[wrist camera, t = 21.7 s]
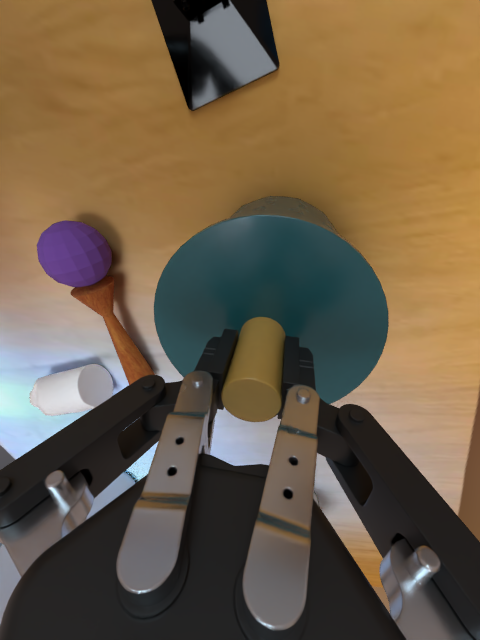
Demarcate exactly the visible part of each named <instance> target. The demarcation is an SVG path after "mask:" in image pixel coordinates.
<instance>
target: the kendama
mask: <svg viewBox="0 0 480 640" xmlns="http://www.w3.org/2000/svg"><path fill="white" fill-rule="evenodd" d="M37 251H38V259H39V262H40V264H41V265H42V267H43V269H44V270H45V272H46V274H48V275H49V276H50V277H52V278H53V279H54V280H56V281H57V282H58V283H62V284H65V285H68V286H72V287H75V288H74V289H73V290H72V291H71V295H72V296H73V297H75V298H76V299H78V300H79V301H81V302H82V303H84V304H85V305H86V306H88V307H89V308H91V309H92V310H94V311H95V312H97V313H98V314H100V315H101V316H103V318H104V321H105V323H106V326H107V328H108V331H109V334H110V336H111V339H112V341H113V344H114V346H115V349H116V352H117V354H118V357H119V359H120V362H121V364H122V367H123V370H124V372H125V375H126V377H127V380H128V382H129V385H130V384H132V383H133V382H135V381H136V380H138V379H139V378H141V377H143V376H146V375H155V374H154V372H153V371H152V369H151V368H150V366H149V365H148V363H147V362H146V360H145V359H144V357H143V356H142V354H141V353H140V351H139V350H138V349H137V347H136V346H135V344H134V343H133V341H132V340H131V338H130V337H129V335H128V334H127V332H126V331H125V329H124V328H123V326H122V325H121V324H120V322H119V321H118V319H117V318H116V316H115V315H114V313H113V299H114V278H113V277H110V276H106V274H107V272H108V270H109V268H110V266H111V263H112V257H111V249H110V247H109V245H108V243H107V240H106V239H105V238H104V237H103V236H102V235H101V234H100V233H99V232H98V231H97V230H96V229H94V228H92V227H90V226H88V225H86V224H84V223H82V222H75V221H61V222H57V223H54V224H52V225H51V226H50V227H49V228H48V229H46V230H45V231H44V232H43V233H42V234H41V236H40V239H39V241H38V244H37Z"/></svg>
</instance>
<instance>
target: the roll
mask: <svg viewBox="0 0 480 640" xmlns="http://www.w3.org/2000/svg"><path fill="white" fill-rule="evenodd" d="M112 394H113V380H112V377H111V375H110V373H109V372H108V371H107V370H106V369H105V368H104V367H102V366H100V365H97V364H90V365H86V366H83V367H79V368H76V369H71V370H67V371H64V372H59V373H55V374H52V375H48V376H45V377H42V378H38V379H37V380H36V382H35V384H34V387H33V389H32V391H31V392H30V397H29V398H30V403H31V405H33V406H35V407H38V408H39V409H40V410H41V411H42V412H43V413H44V414H45V415H49V416H55V415H62V414H68V413H77V412H82V411H85V410H89V409H94V408H95V407H97V406H98V405H100V404H101V403H103V402H105V401H106V400H108V399H109V398H111V397H112Z"/></svg>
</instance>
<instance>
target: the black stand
mask: <svg viewBox="0 0 480 640" xmlns="http://www.w3.org/2000/svg"><path fill="white" fill-rule="evenodd" d="M152 3H153V6H154V9H155V12H156V15H157V18H158V21H159V24H160V27H161V30H162V33H163V35H164V38H165V41H166V44H167V47H168V50H169V53H170V56H171V59H172V62H173V65H174V68H175V71H176V73H177V76H178V79H179V82H180V85H181V88H182V91H183V94H184V97H185V100H186V103H187V106H188V108H189V109H190V110H191V111H194V110H196V109H198V108H200V107H202V106H204V105H206V104H208V103H210V102H212V101H214V100H216V99H218V98H221V97H223V96H225V95H227V94H229V93H231V92H233V91H235V90H237V89H239V88H241V87H243V86H245V85H247V84H249V83H251V82H253V81H255V80H257V79H259V78H261V77H263V76H266V75H268V74H270V73H272V72H274V71H276V70H277V69H278V68H279V61H278V56H277V51H276V46H275V41H274V36H273V31H272V27H271V22H270V17H269V12H268V7H267V2H266V0H152Z"/></svg>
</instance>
